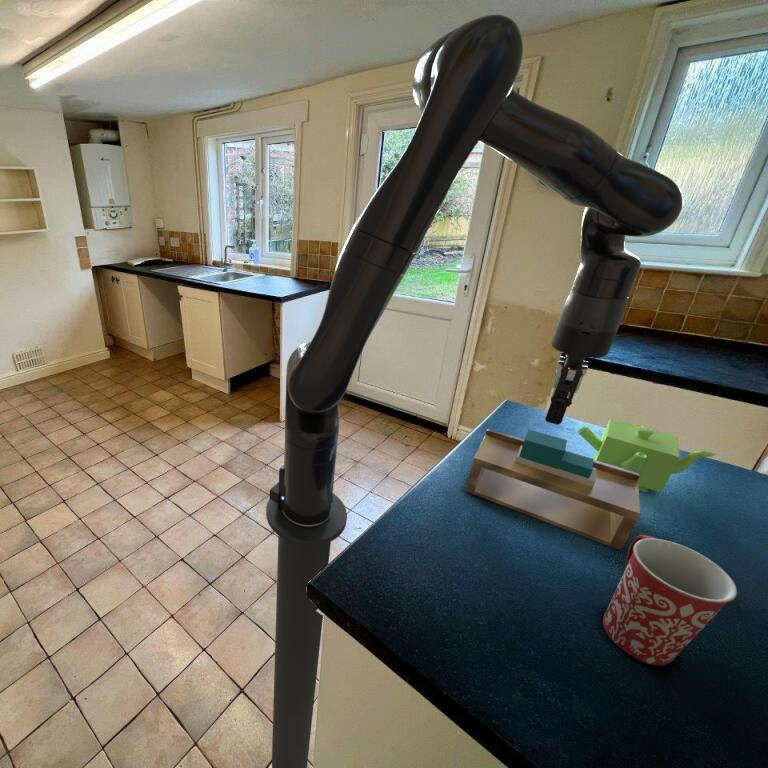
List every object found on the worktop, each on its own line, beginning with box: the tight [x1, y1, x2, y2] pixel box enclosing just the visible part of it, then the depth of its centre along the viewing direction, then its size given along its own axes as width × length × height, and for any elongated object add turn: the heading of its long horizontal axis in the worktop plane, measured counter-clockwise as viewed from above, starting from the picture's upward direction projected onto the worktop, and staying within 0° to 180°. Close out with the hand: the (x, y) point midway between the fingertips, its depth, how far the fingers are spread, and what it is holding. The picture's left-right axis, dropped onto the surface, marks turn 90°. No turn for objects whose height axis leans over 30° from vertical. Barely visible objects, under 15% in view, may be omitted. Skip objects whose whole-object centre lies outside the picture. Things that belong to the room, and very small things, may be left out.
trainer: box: [515, 429, 596, 487], centre depth 74 cm, size 12×5×5 cm, turn 52°
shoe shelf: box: [464, 428, 641, 551], centre depth 76 cm, size 24×11×9 cm, turn 52°
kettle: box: [577, 418, 718, 493], centre depth 83 cm, size 15×14×11 cm
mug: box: [602, 534, 738, 666], centre depth 53 cm, size 13×9×14 cm
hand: (554, 412), depth 72 cm, fingers open, 8 cm apart
